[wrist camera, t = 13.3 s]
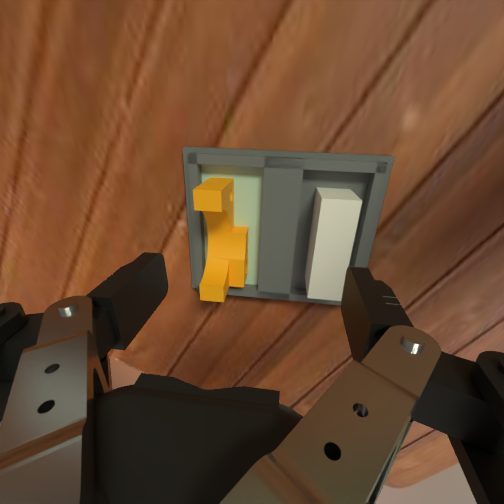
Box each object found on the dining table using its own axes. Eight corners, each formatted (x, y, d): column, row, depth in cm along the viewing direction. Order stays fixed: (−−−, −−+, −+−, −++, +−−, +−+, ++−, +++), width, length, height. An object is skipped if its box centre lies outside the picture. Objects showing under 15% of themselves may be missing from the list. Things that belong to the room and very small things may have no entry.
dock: (391, 155, 28) (416, 162, 22) (356, 299, 35) (369, 329, 30) (185, 146, 30) (163, 150, 24) (195, 284, 37) (179, 310, 32)
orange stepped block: (247, 274, 35) (239, 303, 29) (214, 271, 35) (200, 300, 29) (249, 179, 29) (240, 191, 24) (210, 177, 30) (192, 189, 24)
